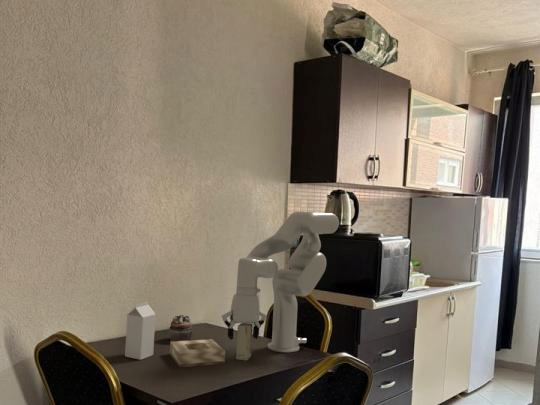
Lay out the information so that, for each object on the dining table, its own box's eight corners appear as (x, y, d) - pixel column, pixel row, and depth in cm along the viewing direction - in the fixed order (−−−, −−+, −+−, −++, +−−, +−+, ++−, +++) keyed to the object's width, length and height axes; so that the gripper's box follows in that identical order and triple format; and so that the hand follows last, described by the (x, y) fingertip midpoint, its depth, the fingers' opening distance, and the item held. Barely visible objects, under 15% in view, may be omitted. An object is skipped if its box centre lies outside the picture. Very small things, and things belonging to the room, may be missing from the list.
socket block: (211, 351, 185) (212, 339, 185) (224, 363, 171) (225, 350, 171) (169, 354, 179) (170, 341, 179) (179, 367, 164) (180, 354, 164)
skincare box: (247, 361, 175) (248, 327, 175) (235, 359, 176) (237, 325, 176) (251, 356, 181) (252, 323, 182) (240, 354, 182) (241, 322, 183)
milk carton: (153, 355, 176) (156, 303, 177) (140, 360, 170) (143, 305, 170) (137, 352, 179) (140, 300, 180) (124, 356, 173) (127, 303, 173)
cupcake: (163, 340, 197) (164, 316, 197) (179, 336, 205) (181, 312, 205) (181, 345, 192) (182, 319, 192) (197, 340, 200) (198, 315, 200)
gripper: (264, 290, 186) (260, 335, 185) (221, 289, 179) (217, 336, 178) (271, 293, 179) (268, 340, 178) (227, 293, 172) (223, 341, 172)
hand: (243, 338), depth 178 cm, fingers open, 9 cm apart
